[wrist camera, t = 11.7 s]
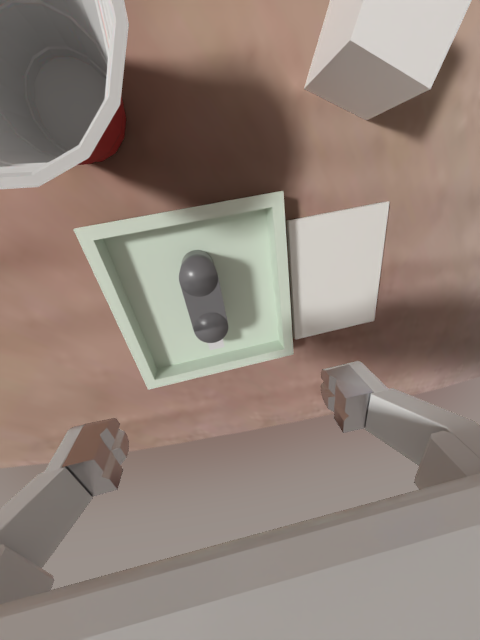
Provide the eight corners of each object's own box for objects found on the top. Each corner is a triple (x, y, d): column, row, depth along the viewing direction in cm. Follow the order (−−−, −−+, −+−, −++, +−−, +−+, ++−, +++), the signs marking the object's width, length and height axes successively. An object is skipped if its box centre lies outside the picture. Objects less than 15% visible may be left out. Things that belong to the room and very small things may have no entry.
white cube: (404, 22, 17) (500, -60, 12) (365, 121, 19) (431, 89, 14) (336, -25, 15) (412, -146, 10) (303, 89, 18) (350, 40, 12)
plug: (177, 253, 21) (173, 263, 17) (210, 246, 21) (213, 255, 17) (201, 339, 25) (202, 361, 21) (228, 333, 25) (234, 354, 22)
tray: (273, 192, 20) (283, 190, 18) (285, 342, 28) (293, 354, 26) (87, 226, 19) (73, 228, 17) (152, 374, 26) (148, 389, 24)
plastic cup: (188, 177, 19) (180, 141, 8) (58, 216, 18) (-125, 232, 8) (120, -31, 14) (-130, -833, 3) (-61, 18, 13) (-1042, -700, 3)
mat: (384, 201, 22) (389, 201, 22) (370, 318, 28) (374, 320, 28) (286, 220, 22) (288, 221, 21) (293, 337, 28) (295, 339, 27)
